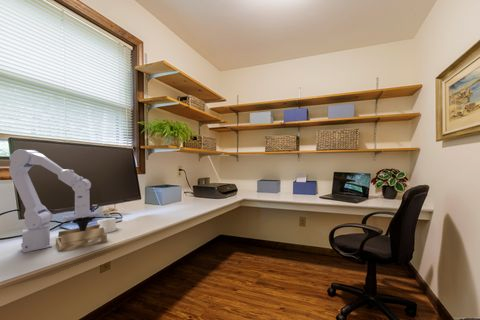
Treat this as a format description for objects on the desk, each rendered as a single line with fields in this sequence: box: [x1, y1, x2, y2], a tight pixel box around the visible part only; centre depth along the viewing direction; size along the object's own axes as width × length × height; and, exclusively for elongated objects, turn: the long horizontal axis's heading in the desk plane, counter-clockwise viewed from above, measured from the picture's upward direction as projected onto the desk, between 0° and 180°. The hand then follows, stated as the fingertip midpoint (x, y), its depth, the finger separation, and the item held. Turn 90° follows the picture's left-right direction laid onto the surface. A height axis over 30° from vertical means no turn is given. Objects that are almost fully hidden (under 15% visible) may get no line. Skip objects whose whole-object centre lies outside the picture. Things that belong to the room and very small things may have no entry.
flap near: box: [61, 227, 105, 244], centre depth 105 cm, size 17×4×1 cm
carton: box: [55, 232, 108, 252], centre depth 108 cm, size 18×13×3 cm
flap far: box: [57, 223, 100, 238], centre depth 111 cm, size 17×4×1 cm
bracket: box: [97, 217, 117, 234], centre depth 122 cm, size 20×9×7 cm, turn 146°
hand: (82, 233), depth 106 cm, fingers closed, pressing on flap near
